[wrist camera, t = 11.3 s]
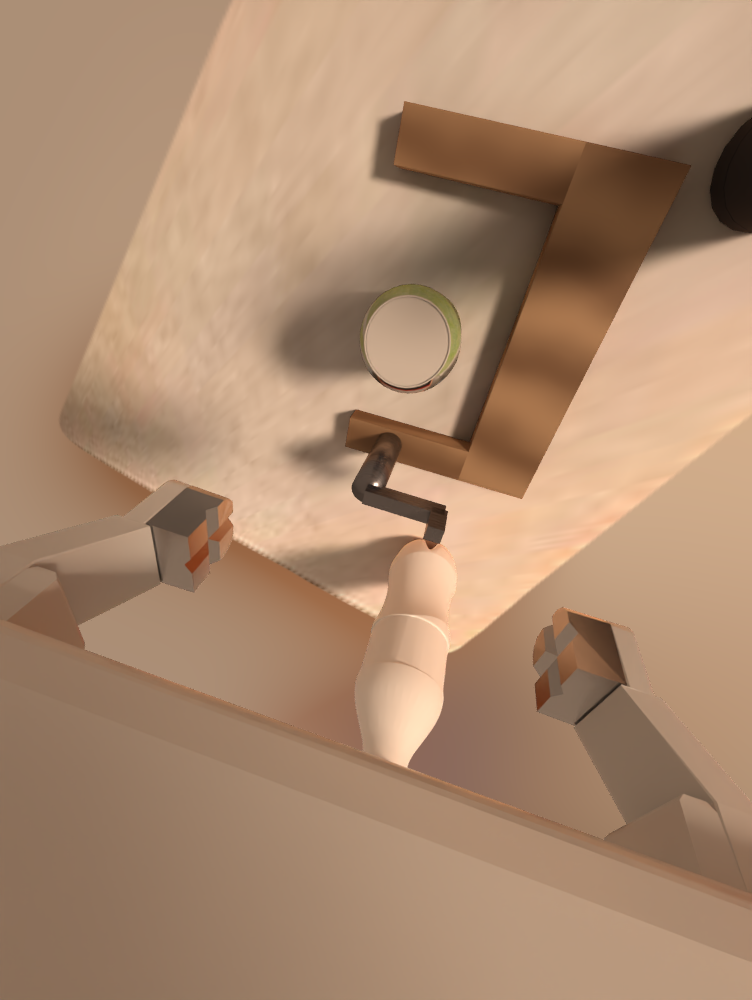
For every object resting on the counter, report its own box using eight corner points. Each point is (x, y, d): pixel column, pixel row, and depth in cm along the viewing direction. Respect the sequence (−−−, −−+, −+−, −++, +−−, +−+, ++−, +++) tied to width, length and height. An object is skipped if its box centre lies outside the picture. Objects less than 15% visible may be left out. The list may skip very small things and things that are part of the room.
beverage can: (382, 358, 35) (340, 408, 26) (398, 261, 31) (353, 277, 21) (454, 374, 35) (438, 432, 25) (479, 277, 30) (472, 302, 21)
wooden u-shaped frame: (410, 108, 26) (404, 101, 25) (678, 169, 25) (691, 165, 23) (351, 437, 40) (345, 446, 39) (520, 487, 39) (521, 499, 37)
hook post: (383, 420, 38) (343, 492, 28) (460, 442, 38) (447, 524, 28) (378, 442, 40) (338, 518, 30) (452, 464, 39) (437, 549, 29)
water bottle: (414, 521, 44) (346, 771, 24) (471, 552, 45) (451, 824, 24) (385, 561, 48) (305, 802, 28) (437, 589, 49) (396, 847, 29)
